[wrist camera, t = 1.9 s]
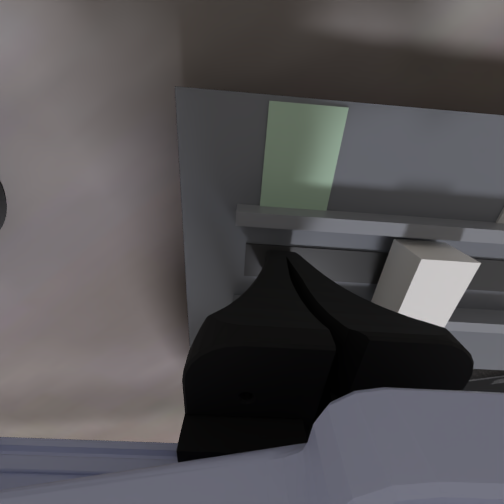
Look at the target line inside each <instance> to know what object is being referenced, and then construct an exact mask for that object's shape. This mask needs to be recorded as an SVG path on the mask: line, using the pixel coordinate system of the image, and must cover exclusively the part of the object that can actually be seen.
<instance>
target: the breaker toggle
mask: <svg viewBox="0 0 504 504" xmlns="http://www.w3.org/2000/svg"><path fill="white" fill-rule="evenodd" d="M480 264H481V263H480V262H478V261H477V260H475V259H473V258H471V257H470V256H468V255H466V254H464V253H463V252H461V251H459V250H457V249H456V248H454V247H452V246H450V245H449V244H447V243H445V242H435V241H420V240H406V239H394V240H393V243H392V246H391V248H390V251H389V254H388V257H387V259H386V262H385V265H384V268H383V270H382V273H381V276H380V278H379V281H378V284H377V287H376V289H375V292H374V295H373V298H372V300H371V302H373V303H375V304H377V305H379V306H382V307H384V308H387V309H389V310H392V311H394V312H397V313H400V314H402V315H405V316H408V317H411V318H414V319H418V320H421V321H424V322H427V323H431V324H434V325H437V326H441V327H445V326H446V324H447V322H448V320H449V319H450V317H451V315H452V313H453V312H454V310H455V308H456V306H457V305H458V303H459V301H460V299H461V298H462V296H463V294H464V292H465V291H466V289H467V287H468V285H469V284H470V282H471V280H472V278H473V277H474V275H475V273H476V271H477V270H478V268H479V266H480Z"/></svg>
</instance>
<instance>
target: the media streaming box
mask: <svg viewBox="0 0 504 504" xmlns="http://www.w3.org/2000/svg"><path fill="white" fill-rule="evenodd" d="M5 217H6V199H5V194H4V191H3V188H2V185H1V183H0V229H1V227H2V225H3V223H4V221H5Z"/></svg>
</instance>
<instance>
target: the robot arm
mask: <svg viewBox="0 0 504 504" xmlns="http://www.w3.org/2000/svg"><path fill="white" fill-rule="evenodd" d="M473 366H474V361H473V358H472V356H471V353H470V352H469V351H468V350H467V349H466V348H465V347H464V346H463V345H462V344H461V343H460V342H459V341H458V340H457V339H456V338H455V337H454V336H453V335H452V334H451V333H450V332H449V331H448V330H447V329H446V328H444V327H441V326H437V325H434V324H431V323H427V322H424V321H421V320H418V319H414V318H411V317H408V316H405V315H402V314H400V313H397V312H394V311H392V310H389V309H387V308H384V307H382V306H379V305H377V304H375V303H373V302H370V301H368V300H366V299H364V298H362V297H360V296H358V295H356V294H354V293H352V292H350V291H349V290H347V289H345V288H343V287H342V286H340V285H338V284H337V283H335V282H334V281H332V280H331V279H329V278H328V277H327V276H325V275H324V274H322V273H321V272H320V271H318V270H317V269H316V268H315V267H313V266H312V265H311V264H310V263H309V262H307V261H306V260H305V259H304V258H303V257H301V256H300V255H299V254H298V253H296V252H290V251H274V250H269V251H267V252H266V261H265V264H264V266H263V268H262V270H261V272H260V273H259V275H258V276H257V278H256V279H255V281H254V282H253V283H252V284H251V286H250V287H249V288H248V289H247V290H246V291H245V292H244V293H243V294H242V295H241V296H240V297H239V298H237V299H236V300H235V301H233V302H232V303H231V304H229V305H228V306H226V307H224V308H222V309H221V310H219V311H217V312H215V313H213V314H211V315H209V316H207V317H206V319H205V321H204V322H203V324H202V326H201V327H200V329H199V331H198V333H197V335H196V337H195V339H194V341H193V343H192V346H191V348H190V350H189V353H188V356H187V360H186V364H185V367H184V371H183V379H182V382H183V394H184V406H185V416H184V420H183V425H182V429H181V433H180V437H179V442H178V443H156V442H128V441H100V440H72V439H44V438H15V437H0V504H504V393H500V392H477V391H462V390H463V389H464V388H465V386H466V385H467V383H468V382H469V380H470V378H471V376H472V373H473Z"/></svg>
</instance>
